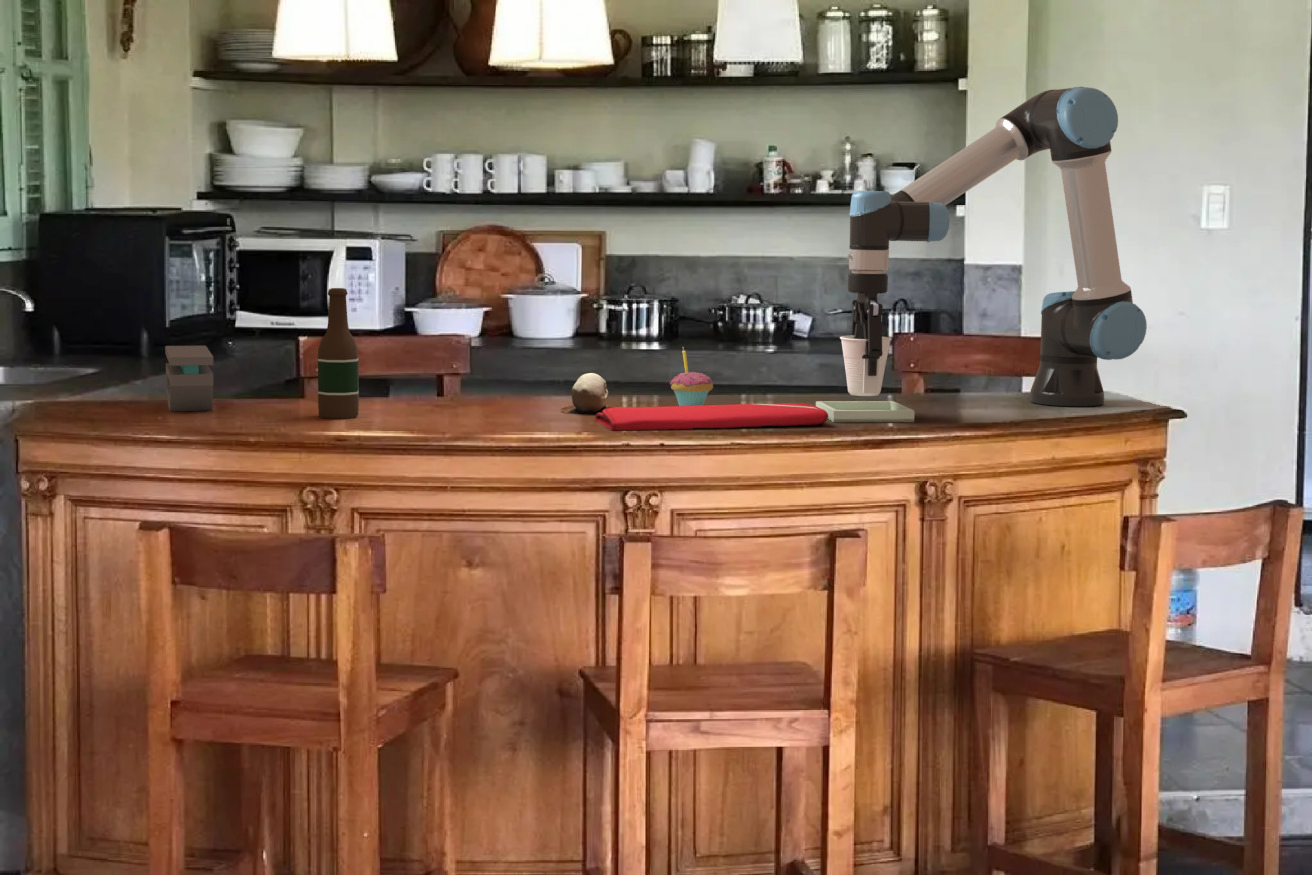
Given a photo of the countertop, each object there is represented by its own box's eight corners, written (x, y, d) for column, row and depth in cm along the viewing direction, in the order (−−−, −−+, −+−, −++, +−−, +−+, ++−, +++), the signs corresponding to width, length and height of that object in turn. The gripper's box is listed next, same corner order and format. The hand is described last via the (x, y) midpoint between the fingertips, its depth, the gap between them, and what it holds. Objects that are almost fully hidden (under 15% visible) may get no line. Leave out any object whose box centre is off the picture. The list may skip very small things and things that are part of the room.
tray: (892, 412, 368) (893, 401, 367) (914, 422, 352) (914, 410, 352) (815, 412, 366) (815, 401, 365) (833, 422, 350) (833, 410, 350)
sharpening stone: (214, 414, 350) (213, 356, 348) (171, 415, 348) (170, 357, 346) (206, 399, 374) (205, 345, 372) (166, 400, 371) (165, 346, 370)
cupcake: (663, 408, 369) (664, 347, 368) (679, 403, 377) (680, 344, 376) (704, 410, 366) (705, 349, 365) (719, 406, 374) (720, 346, 372)
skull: (568, 401, 370) (601, 364, 367) (603, 438, 368) (637, 401, 366) (546, 406, 359) (581, 368, 356) (583, 444, 357) (618, 406, 354)
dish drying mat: (594, 423, 349) (594, 403, 349) (803, 419, 359) (803, 400, 358) (611, 433, 334) (611, 413, 334) (829, 430, 343) (829, 409, 343)
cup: (887, 398, 353) (889, 340, 351) (835, 396, 355) (837, 338, 353) (891, 392, 362) (893, 336, 361) (841, 390, 364) (842, 334, 363)
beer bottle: (367, 415, 351) (366, 288, 348) (347, 420, 344) (346, 290, 341) (330, 413, 354) (329, 286, 350) (309, 418, 346) (308, 288, 343)
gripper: (836, 269, 365) (832, 384, 368) (862, 274, 344) (858, 396, 347) (873, 269, 366) (870, 384, 369) (901, 275, 345) (897, 396, 348)
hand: (864, 390), depth 358 cm, fingers closed on cup, 8 cm apart
